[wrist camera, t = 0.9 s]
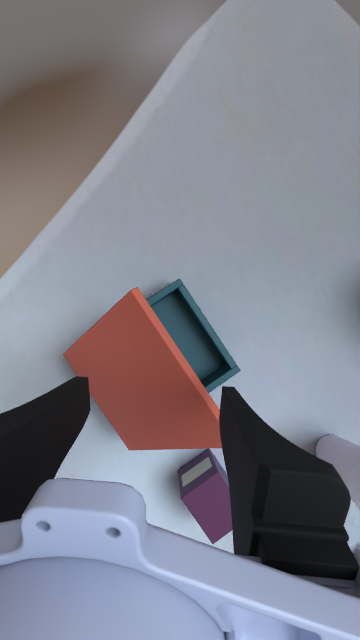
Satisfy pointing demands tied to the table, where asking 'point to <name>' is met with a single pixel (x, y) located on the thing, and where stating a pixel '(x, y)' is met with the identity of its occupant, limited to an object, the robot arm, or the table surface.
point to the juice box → (207, 494)
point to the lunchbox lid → (144, 380)
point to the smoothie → (342, 461)
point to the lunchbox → (193, 335)
